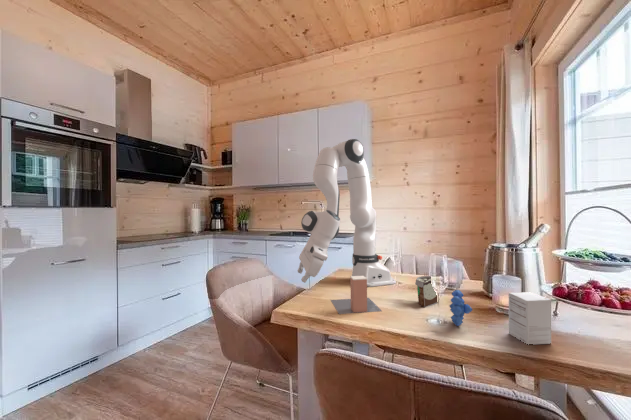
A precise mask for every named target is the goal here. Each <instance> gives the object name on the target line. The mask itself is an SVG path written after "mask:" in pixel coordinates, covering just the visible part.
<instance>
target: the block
mask: <svg viewBox="0 0 631 420" xmlns="http://www.w3.org/2000/svg"><path fill="white" fill-rule="evenodd" d="M349 279H350V299H351V310H352V311H353V312H364V313H368V312H367V298H368V286H367V278H366V277H364V276H352V275H350V278H349Z"/></svg>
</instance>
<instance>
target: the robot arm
mask: <svg viewBox="0 0 631 420" xmlns="http://www.w3.org/2000/svg"><path fill="white" fill-rule="evenodd" d="M364 154H365V148H364V145H363V144H362V142H361V141H360V140H359V139H357V138H351V139H348V140H346V141H342V142H339V143H337V144H336V145H334V146H333V147H331V146H330V147H329V146H328V147H324V148H322V149H321V150H320V151H319V153H318V156H317V159H316V161H315V163H314V168H313V173H312V180H313V183H314V185H315V187H317V189H318V190H320V192H321V193H322V194H323V196H324V198H325V200H326V209H325V210H324V211H314V210H310V211H307V212H306V213H305V214H304V215H303V216H302V219H301V228H302V230H303V231H305V232H307V233H308V234H310V236H309V238H308V240H307V242H306V244H305V245H304V247H303V249H302V251H301V253H300V255H299V257H298V258H299V261H300V263H299V266H298V268H297V273H298V274H302V273H303V271H304V270H305V273H304V275H303V276H302V277H301V282H302V283H307V281H308V280H309V278H311V277H312V278H315V277H316V276H318V274H319V273H320V270H321V269H322V267H323V265H324V263H325V262H326V261H327V260H328V257H329V255H328V249H329V247H330V244H331V241H333V240H335V238H337V236H338V235H339V233H340V223H341V218H340V217H339V213H340V196H341V195H340V193H341V191H340V188H339V186H338V171H339V168H340V167H341V168H342V167H345V168H346V176H347V183H348V185H347V186H348V190H349V199H350V200H349V209H350V210H349V212H350V215H349V218H350V219H349V220H350V222H351V223H352V225H354V234H353V238H352V240H353V241H352V243H353V246H352V249H353V253H352V256H351V257H352V260H351V261H352V262H351V263H352V270H351V271H352V273H351V276H364V277H366V278H367V287H369V288H370V287H378V286H387V285H394V284H396V279H395V278H394V277H392V274H391V271H390V269H389V267H387V266H385V264H383V263H382V262H380V261H381V260H383V256H382V255H379V254H377V253H376V235H377V216H378V215H377V210H376V209H375V208H374V207H373V201H372V200H373V198H372V193H373V192H372V185H371V178H370V177H371V176H370V172H369V168H368V165H367V162H366V160H365V158H364Z"/></svg>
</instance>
